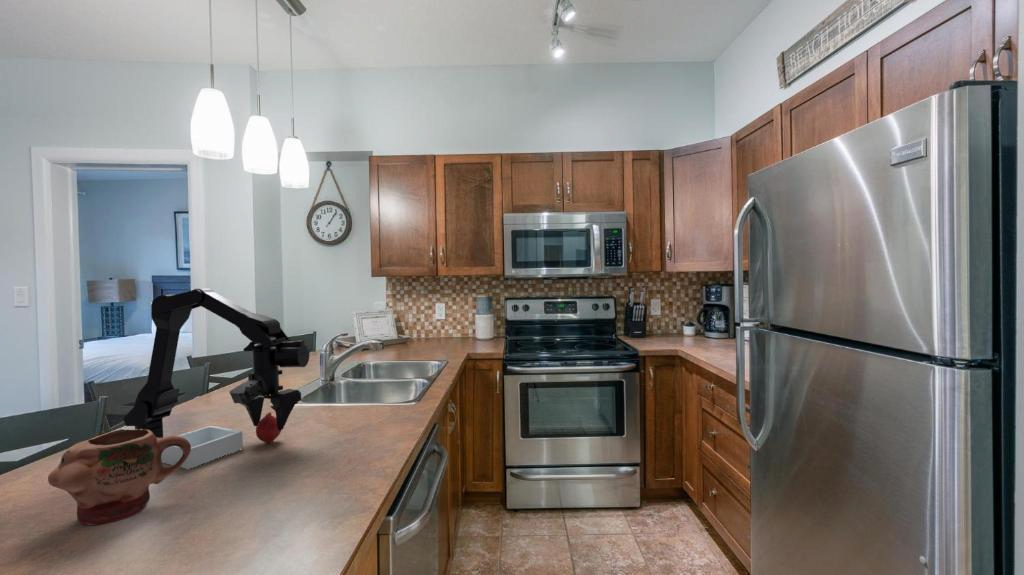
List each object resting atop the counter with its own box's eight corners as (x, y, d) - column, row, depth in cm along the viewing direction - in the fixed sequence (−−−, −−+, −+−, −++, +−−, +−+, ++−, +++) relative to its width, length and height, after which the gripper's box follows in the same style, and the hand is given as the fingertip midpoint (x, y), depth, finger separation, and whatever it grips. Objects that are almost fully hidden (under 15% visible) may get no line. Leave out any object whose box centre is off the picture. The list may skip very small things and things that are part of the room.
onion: (270, 448, 112) (269, 416, 112) (251, 447, 113) (249, 415, 113) (286, 439, 117) (285, 409, 117) (267, 438, 119) (266, 409, 118)
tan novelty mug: (188, 480, 95) (185, 415, 94) (197, 500, 86) (193, 428, 85) (53, 516, 81) (49, 441, 81) (47, 545, 72) (42, 460, 72)
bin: (156, 461, 105) (155, 442, 105) (211, 442, 117) (210, 425, 117) (188, 469, 100) (187, 449, 100) (243, 449, 112) (242, 431, 111)
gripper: (210, 371, 111) (213, 433, 112) (261, 377, 103) (263, 443, 104) (253, 363, 121) (255, 420, 122) (301, 367, 114) (304, 428, 114)
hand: (268, 427), depth 115 cm, fingers open, 9 cm apart
